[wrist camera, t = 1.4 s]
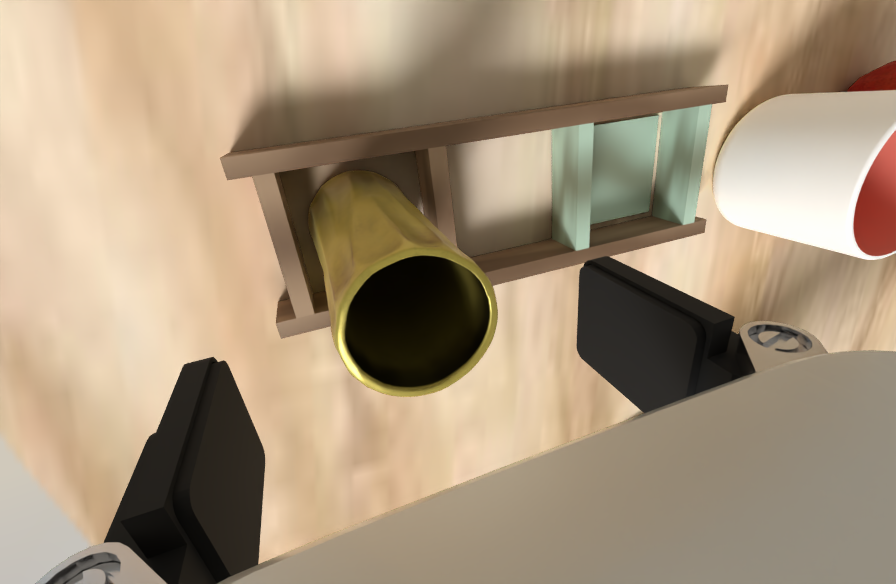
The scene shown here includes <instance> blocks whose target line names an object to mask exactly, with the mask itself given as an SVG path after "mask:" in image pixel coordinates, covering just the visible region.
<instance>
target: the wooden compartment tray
mask: <svg viewBox="0 0 896 584" xmlns="http://www.w3.org/2000/svg"><path fill="white" fill-rule="evenodd" d="M727 90H728V85H717V86H701V87H688V88H681V89H674V90H667V91H660V92H653V93H646V94H638V95H631V96H624V97H617V98H610V99H603V100H596V101H589V102H582V103H575V104H568V105H561V106H554V107H547V108H540V109H533V110H526V111H519V112H512V113H505V114H498V115H491V116H484V117H477V118H470V119H463V120H456V121H449V122H442V123H435V124H427V125H420V126H413V127H406V128H399V129H392V130H385V131H378V132H371V133H364V134H357V135H350V136H343V137H336V138H329V139H322V140H315V141H308V142H301V143H294V144H287V145H280V146H273V147H266V148H259V149H252V150H245V151H238V152H231V153H228V154H226V155H225V156H223V157H221V158H220V160H221V163H222V166H223V169H224V172H225V175H226V178H227V180H232V179H238V178H245V177H251V176H252V178H253V181H254V184H255V187H256V191H257V194H258V197H259V200H260V203H261V207H262V210H263V213H264V216H265V219H266V223H267V226H268V229H269V232H270V235H271V239H272V242H273V245H274V248H275V252H276V255H277V258H278V261H279V264H280V268H281V271H282V274H283V277H284V280H285V284H286V287H287V290H288V293H289V296H290V299H287V300H283V301H279V302H278V308H277V317H276V325H277V328H278V331H279V334H280V337H281V339H282V338H286V337H290V336H294V335H298V334H302V333H306V332H310V331H314V330H318V329H322V328H326V327H330V326H331V321H330V315H329V308H328V300H327V294H326V291H322V292H318V293H313V292H312V288H311V285H310V281H309V278H308V274H307V271H306V267H305V264H304V260H303V256H302V253H301V249H300V246H299V242H298V239H297V235H296V232H295V228H294V225H293V221H292V218H291V214H290V211H289V207H288V204H287V200H286V196H285V193H284V189H283V186H282V182H281V179H280V175H279V172H283V171H289V170H296V169H302V168H308V167H315V166H321V165H327V164H334V163H340V162H347V161H353V160H359V159H366V158H372V157H378V156H385V155H391V154H398V153H404V152H410V151H415V153H416V160H417V167H418V175H419V182H420V189H421V196H422V203H423V210H424V216H425V217H426V218H427V219H428V220H429V221H430V222H431V223H432V224H433V225H434V226H435V227H436V228H437V229H438V230H439V231H441V232H442V233H443V234H444V235H445V236H446V237H447V238H448V239H449V240H450V241H451V242H452V243H453V244H454V245H455V246H456V247H457V242H456V233H455V223H454V214H453V205H452V196H451V187H450V177H449V168H448V159H447V150H446V146H448V145H455V144H461V143H468V142H474V141H480V140H487V139H493V138H499V137H506V136H512V135H519V134H525V133H531V132H538V131H544V130H550V129H552V239H549V240H545V241H540V242H536V243H532V244H527V245H523V246H518V247H514V248H510V249H505V250H501V251H497V252H492V253H488V254H484V255H479V256H475V257H471V259H472V260H473V261H474V262H475V263H476V264H477V265H478V266H479V268H480V269H481V270H482V271H483V272H484V273H485V274H486V276H487V277H488V278H489V280H490V282H491V284H492V286H493V285H497V284H501V283H505V282H509V281H513V280H517V279H521V278H525V277H529V276H533V275H537V274H541V273H545V272H549V271H553V270H557V269H561V268H565V267H569V266H573V265H577V264H581V263H585V262H586V261H588V260H592V259H596V258H600V257H604V256H608V257H609V256H613V255H617V254H621V253H625V252H629V251H633V250H637V249H641V248H645V247H649V246H653V245H657V244H661V243H665V242H669V241H673V240H677V239H681V238H685V237H689V236H693V235H697V234H701V233H704V231H705V225H706V219H703V218H699V217H695V215H696V208H697V201H698V195H699V188H700V181H701V175H702V168H703V161H704V155H705V148H706V141H707V135H708V128H709V122H710V115H711V108H712V104H716V103H722V102H726V96H727ZM659 112H663V113H662V123H661V132H660V142H659V151H658V161H657V171H656V180H655V190H654V200H653V209H652V216H649V217H645V218H641V219H636V220H632V221H628V222H623V223H619V224H614V225H610V226H606V227H601V228H597V229H593V230H590V225H591V224H595V223H600V222H604V221H609V220H613V219H617V218H622V217H626V216H631V215H635V214H640V213H644V212H648V211H649V207H650V197H651V187H652V177H653V167H654V157H655V147H656V137H657V127H658V117H659V115H656V116H649V117H643V118H637V119H630V120H624V121H618V122H611V123H605V124H599V125H594V123H595V122H601V121H608V120H614V119H620V118H627V117H633V116H640V115H646V114H652V113H659Z"/></svg>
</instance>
